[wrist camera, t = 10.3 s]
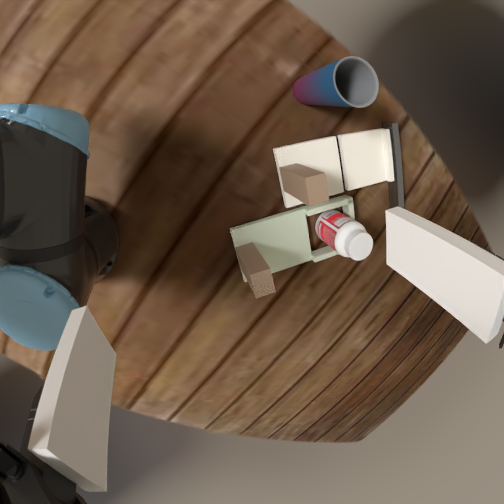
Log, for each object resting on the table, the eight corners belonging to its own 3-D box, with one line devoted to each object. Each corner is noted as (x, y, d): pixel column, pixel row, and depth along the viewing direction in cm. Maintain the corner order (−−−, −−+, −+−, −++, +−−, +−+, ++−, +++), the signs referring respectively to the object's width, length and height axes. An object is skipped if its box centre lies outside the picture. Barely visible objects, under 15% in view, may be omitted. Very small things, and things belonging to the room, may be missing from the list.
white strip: (345, 189, 52) (352, 192, 50) (337, 135, 48) (344, 136, 45) (386, 178, 53) (394, 180, 51) (381, 128, 49) (389, 129, 47)
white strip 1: (284, 206, 50) (312, 227, 40) (273, 148, 46) (300, 155, 36) (340, 190, 52) (377, 207, 42) (332, 136, 47) (370, 141, 37)
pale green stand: (243, 279, 54) (260, 314, 44) (229, 228, 50) (244, 256, 40) (350, 242, 57) (383, 267, 47) (345, 194, 52) (382, 211, 42)
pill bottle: (330, 245, 56) (361, 271, 46) (307, 230, 54) (337, 254, 44) (348, 219, 55) (383, 240, 45) (327, 202, 52) (361, 221, 43)
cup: (332, 95, 45) (387, 90, 31) (305, 118, 45) (355, 118, 32) (308, 64, 42) (358, 47, 28) (279, 87, 42) (322, 73, 29)
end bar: (390, 232, 59) (399, 237, 56) (381, 122, 49) (391, 123, 46) (395, 230, 59) (404, 235, 56) (387, 122, 49) (397, 122, 46)
